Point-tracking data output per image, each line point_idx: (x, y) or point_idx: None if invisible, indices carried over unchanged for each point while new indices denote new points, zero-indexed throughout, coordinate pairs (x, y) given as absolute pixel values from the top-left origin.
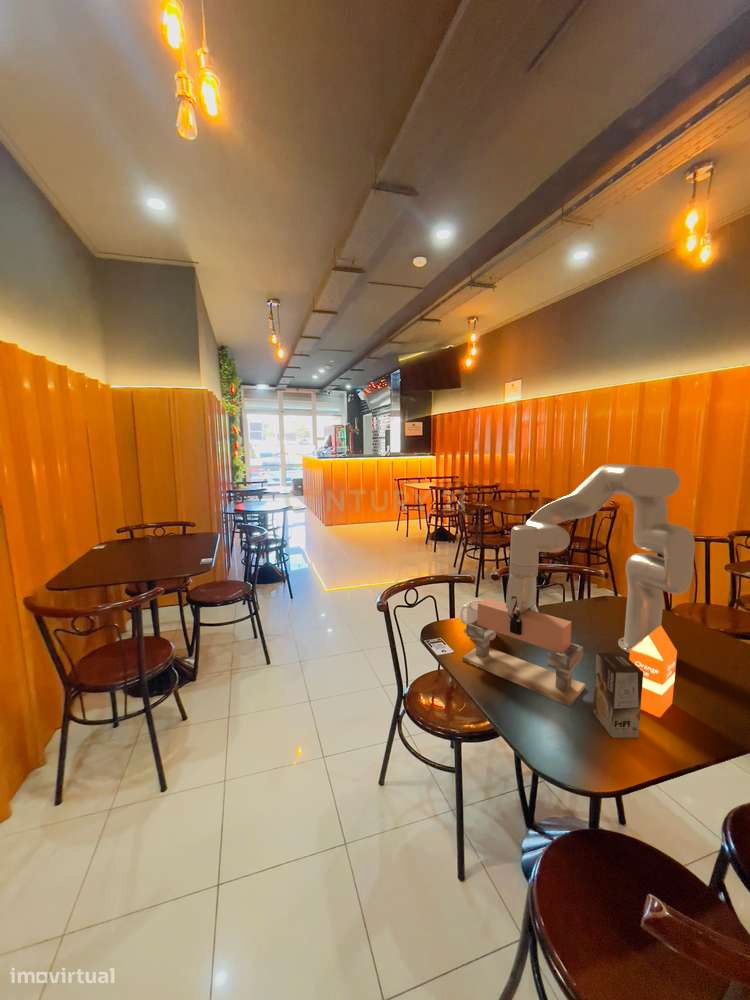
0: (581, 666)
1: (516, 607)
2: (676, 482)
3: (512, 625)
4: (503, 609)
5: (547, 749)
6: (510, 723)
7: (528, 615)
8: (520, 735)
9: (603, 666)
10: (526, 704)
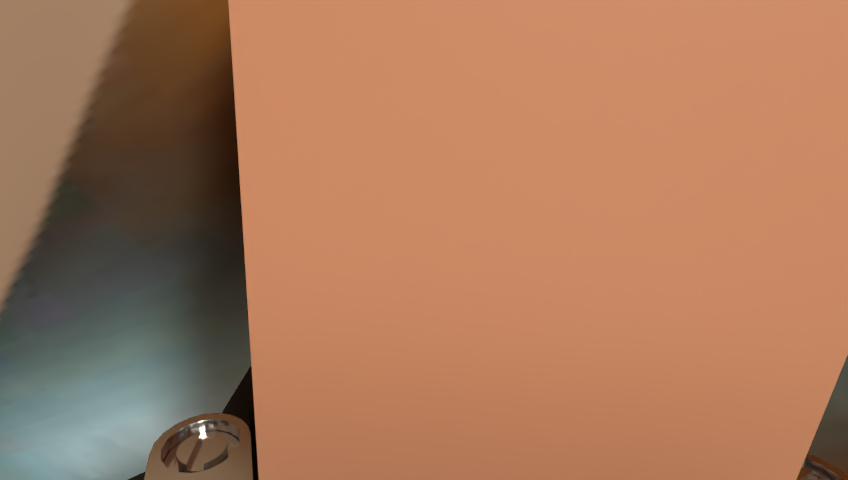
0: None
1: (716, 441)
2: None
3: (242, 393)
4: (356, 237)
5: (46, 455)
6: (51, 320)
7: None
8: (25, 371)
9: None
10: (220, 325)
